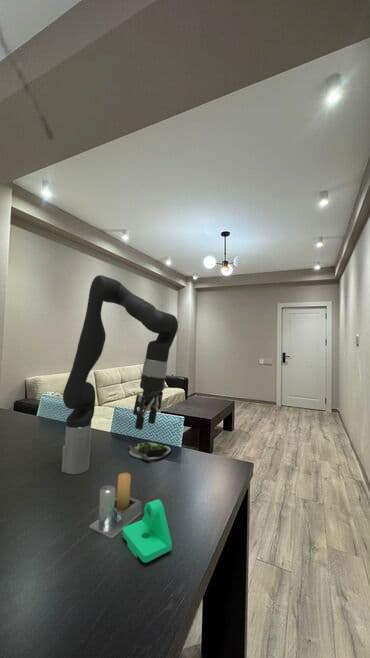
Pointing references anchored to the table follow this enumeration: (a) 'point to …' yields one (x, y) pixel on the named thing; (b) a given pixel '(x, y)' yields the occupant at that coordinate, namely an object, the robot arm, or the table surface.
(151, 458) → the salad plate
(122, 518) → the clear post on plate
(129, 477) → the tan rounded cylinder
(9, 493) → the table surface
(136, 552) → the camera mount
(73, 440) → the robot arm
